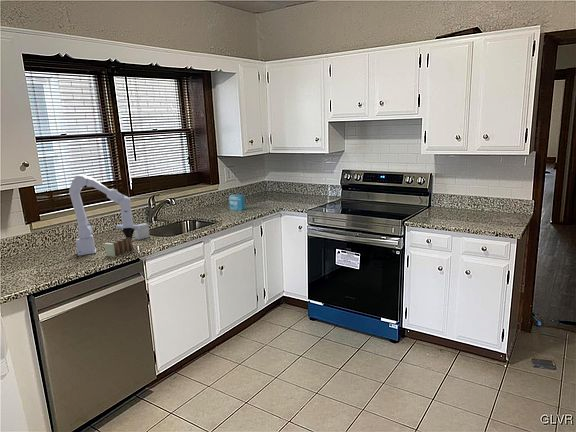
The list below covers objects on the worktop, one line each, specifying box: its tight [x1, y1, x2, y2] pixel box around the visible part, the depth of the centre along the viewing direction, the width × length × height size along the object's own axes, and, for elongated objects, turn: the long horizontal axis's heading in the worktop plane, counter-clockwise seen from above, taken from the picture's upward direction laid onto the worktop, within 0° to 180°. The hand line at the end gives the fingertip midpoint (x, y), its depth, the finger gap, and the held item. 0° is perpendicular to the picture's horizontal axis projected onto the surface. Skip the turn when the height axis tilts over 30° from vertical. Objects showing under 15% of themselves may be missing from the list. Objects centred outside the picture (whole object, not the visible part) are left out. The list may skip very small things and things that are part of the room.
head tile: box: [121, 236, 134, 250], centre depth 249 cm, size 2×5×7 cm, turn 67°
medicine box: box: [133, 222, 150, 240], centre depth 273 cm, size 8×4×9 cm, turn 141°
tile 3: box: [114, 239, 126, 254], centre depth 244 cm, size 2×5×7 cm, turn 67°
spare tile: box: [104, 242, 116, 258], centre depth 237 cm, size 2×5×7 cm, turn 67°
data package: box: [228, 194, 246, 211], centre depth 352 cm, size 12×4×12 cm, turn 63°
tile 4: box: [109, 240, 121, 256], centre depth 241 cm, size 2×5×7 cm, turn 67°
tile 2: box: [118, 237, 130, 252], centre depth 247 cm, size 2×5×7 cm, turn 67°
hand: (129, 240), depth 251 cm, fingers closed
